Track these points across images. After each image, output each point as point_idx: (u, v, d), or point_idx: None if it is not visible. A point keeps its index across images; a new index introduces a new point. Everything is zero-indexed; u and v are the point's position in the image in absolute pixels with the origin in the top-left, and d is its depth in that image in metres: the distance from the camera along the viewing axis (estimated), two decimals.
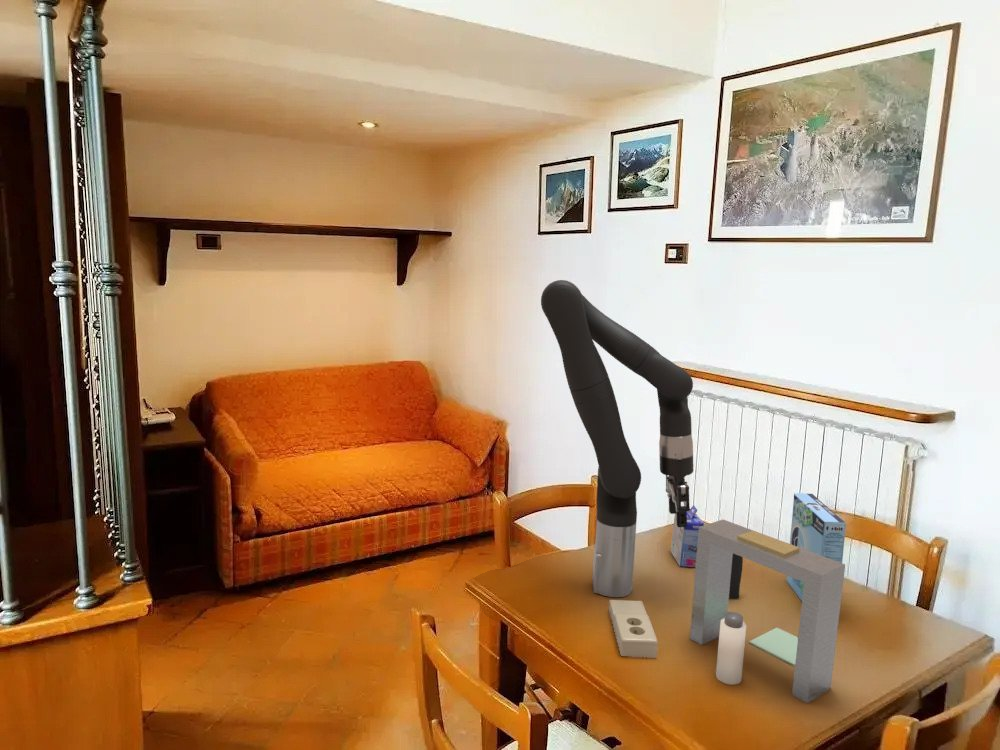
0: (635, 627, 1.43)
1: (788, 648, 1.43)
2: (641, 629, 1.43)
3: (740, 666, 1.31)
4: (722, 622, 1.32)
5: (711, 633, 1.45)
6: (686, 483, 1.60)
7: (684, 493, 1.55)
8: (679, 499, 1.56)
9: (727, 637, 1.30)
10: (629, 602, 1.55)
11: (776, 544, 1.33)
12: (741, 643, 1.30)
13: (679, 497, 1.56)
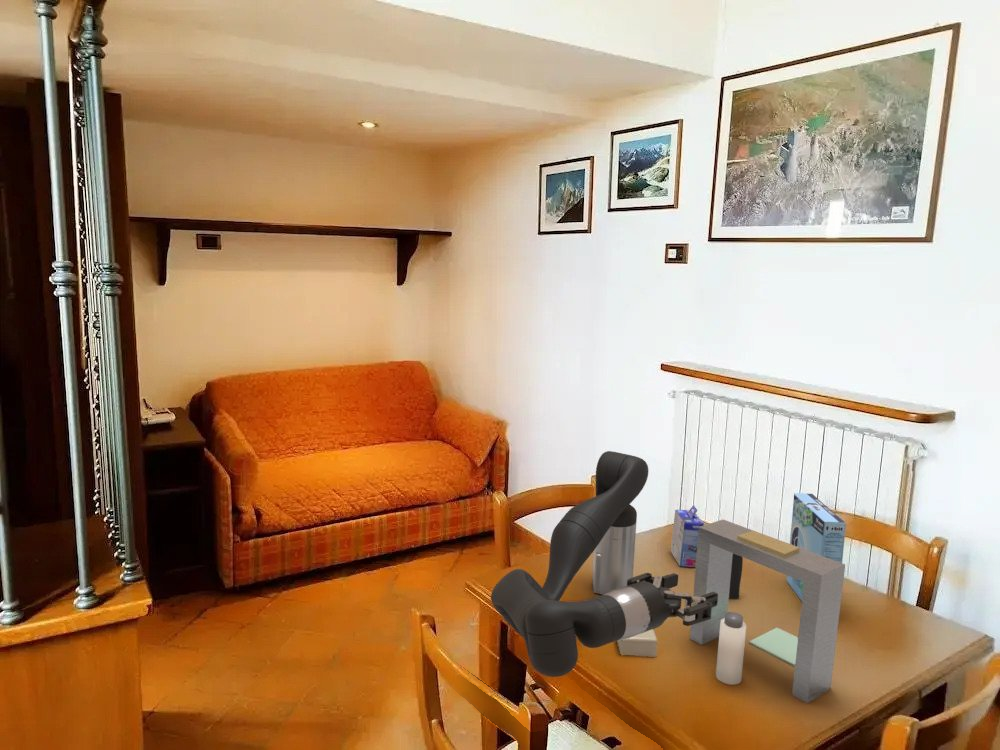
0: None
1: (788, 648, 1.43)
2: None
3: (740, 666, 1.31)
4: (722, 622, 1.32)
5: (711, 633, 1.45)
6: (668, 594, 1.16)
7: (694, 615, 1.12)
8: (700, 620, 1.13)
9: (727, 637, 1.30)
10: None
11: (776, 544, 1.33)
12: (741, 643, 1.30)
13: (698, 621, 1.13)
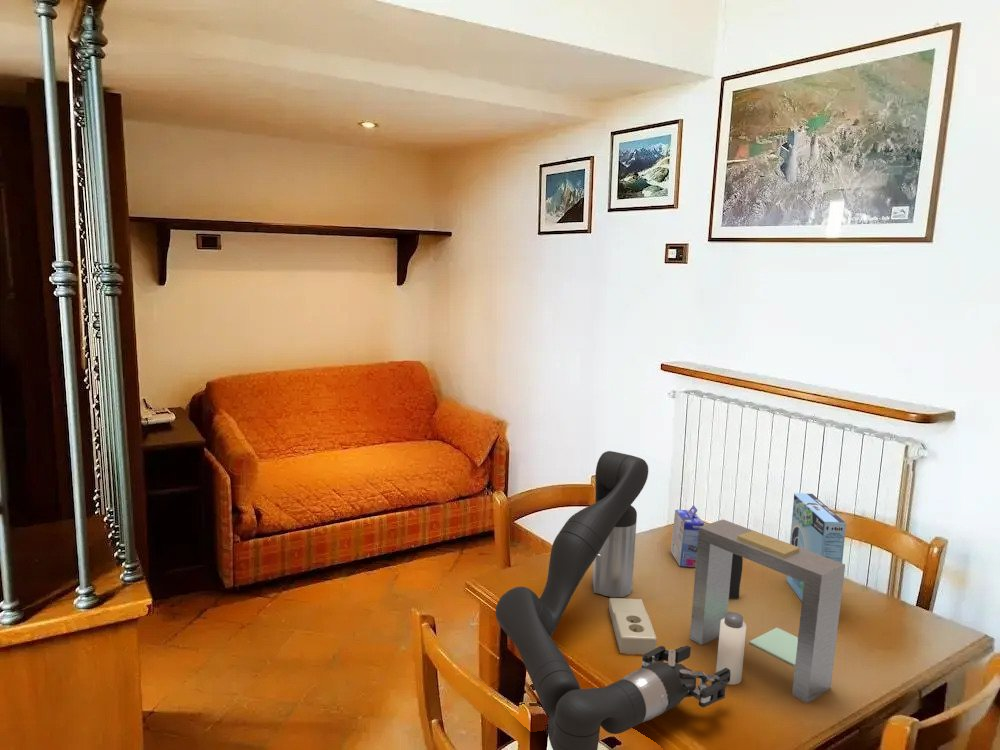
0: (634, 625, 1.44)
1: (788, 648, 1.43)
2: (640, 627, 1.44)
3: (740, 666, 1.31)
4: (722, 622, 1.32)
5: (711, 633, 1.45)
6: (684, 674, 1.20)
7: (710, 696, 1.17)
8: (714, 701, 1.18)
9: (727, 637, 1.30)
10: (629, 601, 1.56)
11: (776, 544, 1.33)
12: (741, 643, 1.30)
13: (713, 701, 1.17)
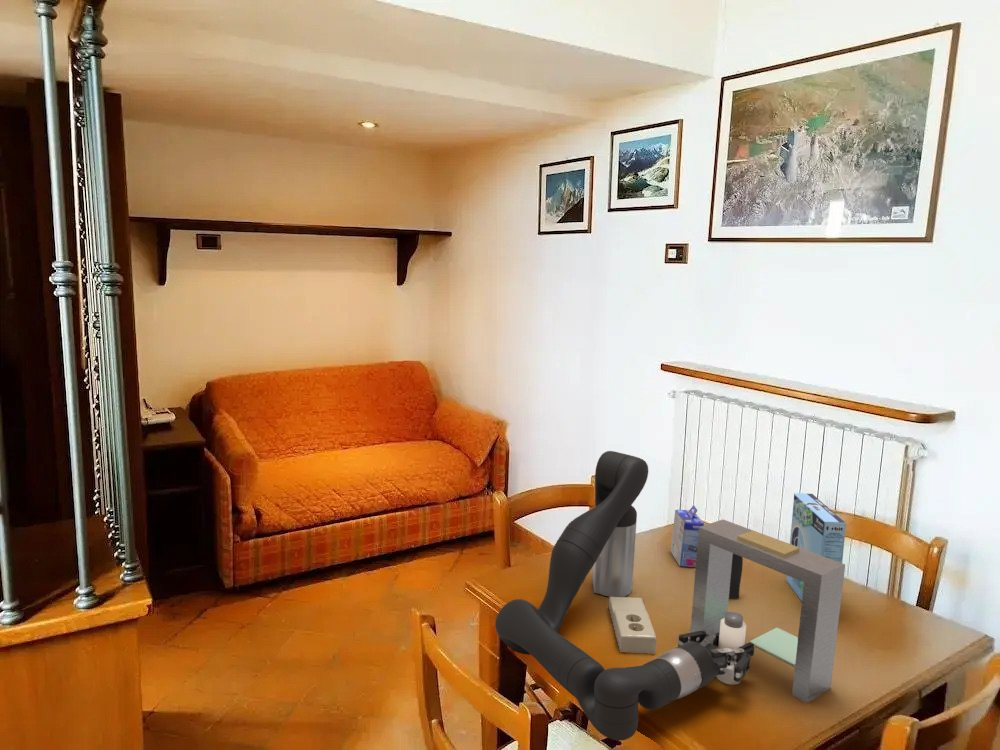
0: (634, 623, 1.45)
1: (788, 648, 1.43)
2: (640, 625, 1.44)
3: None
4: (722, 622, 1.32)
5: (711, 633, 1.45)
6: (716, 653, 1.26)
7: (743, 670, 1.24)
8: (745, 673, 1.25)
9: (727, 636, 1.30)
10: (629, 599, 1.57)
11: (776, 544, 1.33)
12: (741, 643, 1.30)
13: (744, 674, 1.24)
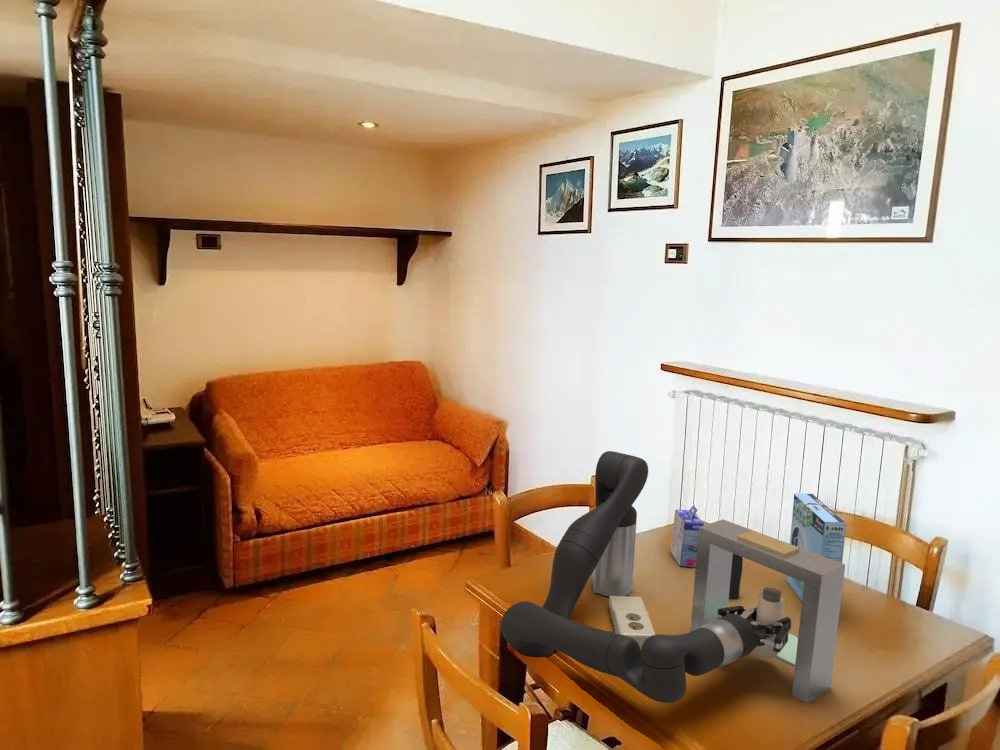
0: (634, 622, 1.45)
1: (788, 648, 1.43)
2: (640, 624, 1.45)
3: None
4: (760, 597, 1.36)
5: None
6: (756, 625, 1.30)
7: (782, 642, 1.28)
8: (784, 645, 1.29)
9: (766, 610, 1.34)
10: (629, 598, 1.57)
11: (776, 544, 1.33)
12: (779, 617, 1.34)
13: (783, 646, 1.28)
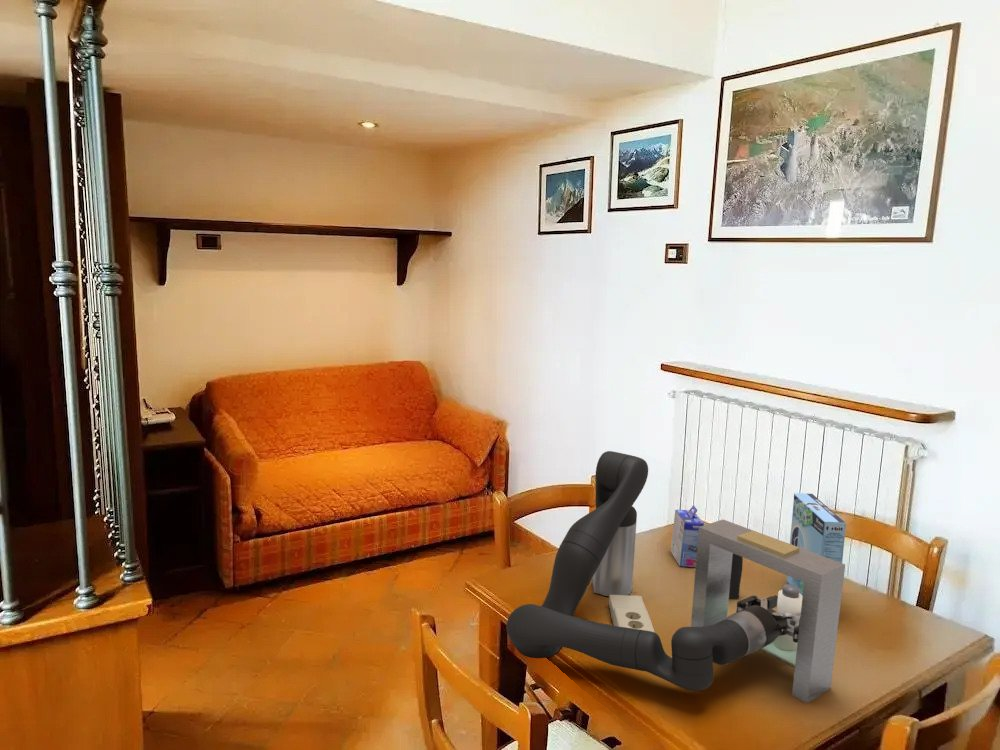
0: (634, 621, 1.46)
1: None
2: (640, 623, 1.45)
3: None
4: (780, 593, 1.43)
5: None
6: (776, 616, 1.37)
7: None
8: None
9: (785, 606, 1.41)
10: (629, 597, 1.58)
11: (776, 544, 1.33)
12: (798, 612, 1.41)
13: None
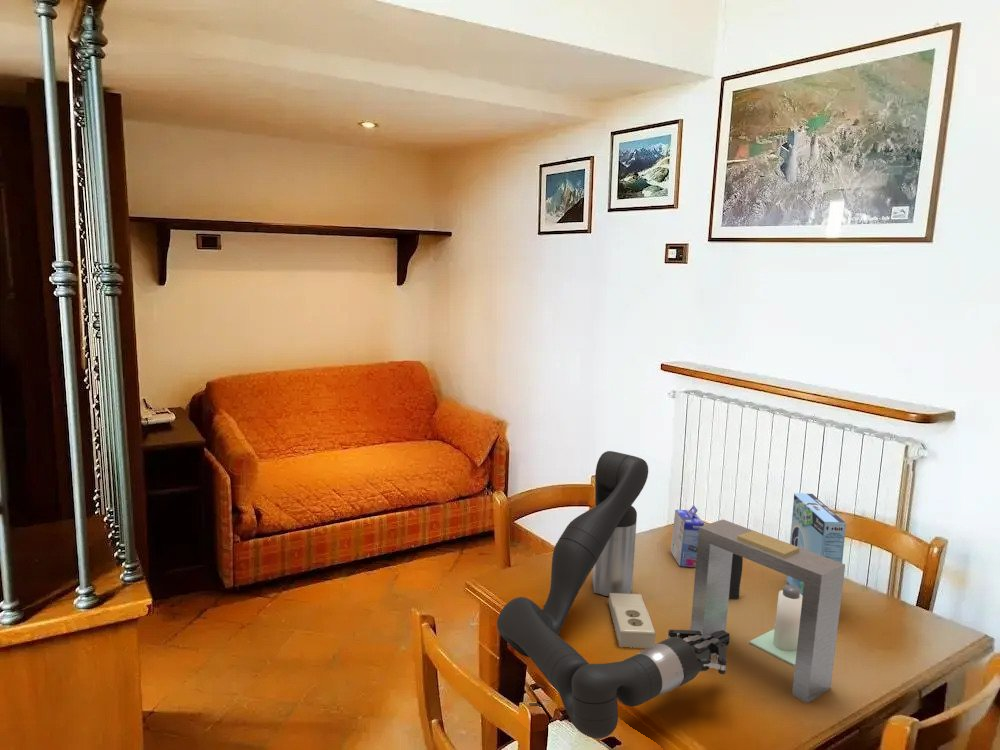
0: (633, 619, 1.47)
1: None
2: (639, 621, 1.46)
3: (797, 634, 1.42)
4: (780, 593, 1.43)
5: (711, 633, 1.45)
6: (700, 648, 1.23)
7: None
8: None
9: (786, 607, 1.41)
10: (628, 596, 1.58)
11: (776, 544, 1.33)
12: (799, 612, 1.41)
13: None
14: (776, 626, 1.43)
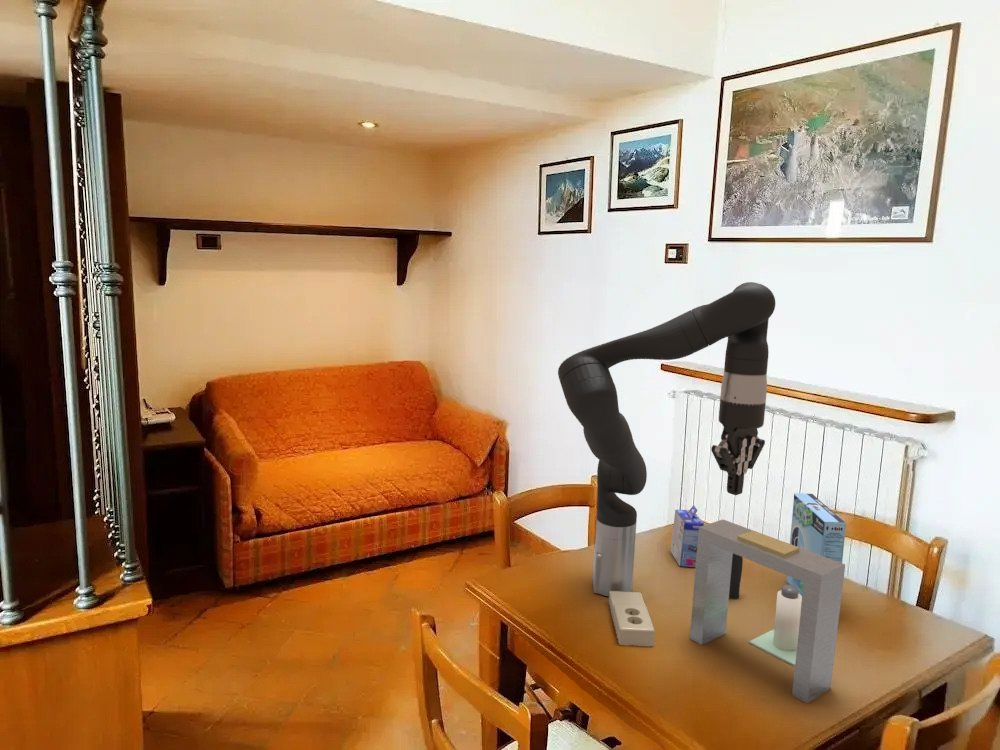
0: (633, 617, 1.48)
1: None
2: (639, 619, 1.47)
3: (797, 634, 1.42)
4: (779, 594, 1.43)
5: (711, 633, 1.45)
6: None
7: None
8: None
9: (785, 607, 1.41)
10: (628, 594, 1.59)
11: (776, 544, 1.33)
12: (798, 612, 1.41)
13: None
14: (776, 626, 1.43)
